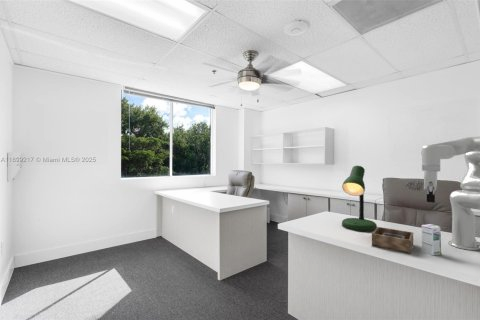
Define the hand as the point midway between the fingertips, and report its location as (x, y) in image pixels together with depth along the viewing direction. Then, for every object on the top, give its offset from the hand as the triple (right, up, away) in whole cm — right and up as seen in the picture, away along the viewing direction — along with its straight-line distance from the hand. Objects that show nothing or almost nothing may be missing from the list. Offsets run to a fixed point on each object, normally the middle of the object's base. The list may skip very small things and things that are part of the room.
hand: (430, 200), depth 122 cm
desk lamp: (-17, -28, +44) cm, 54 cm away
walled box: (-13, -27, +11) cm, 32 cm away
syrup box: (0, -28, 0) cm, 28 cm away
